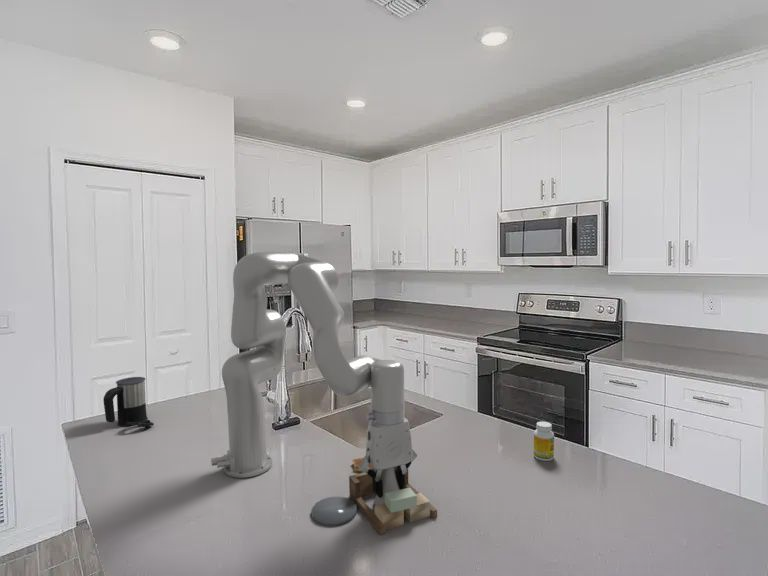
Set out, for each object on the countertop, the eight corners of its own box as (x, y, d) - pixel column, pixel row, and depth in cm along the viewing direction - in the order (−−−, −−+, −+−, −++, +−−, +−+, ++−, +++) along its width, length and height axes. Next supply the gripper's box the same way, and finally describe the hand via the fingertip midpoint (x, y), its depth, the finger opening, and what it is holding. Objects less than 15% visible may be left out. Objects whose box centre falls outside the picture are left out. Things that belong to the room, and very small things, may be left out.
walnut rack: (379, 534, 92) (379, 511, 92) (349, 496, 107) (349, 475, 107) (437, 516, 99) (437, 494, 98) (401, 482, 113) (400, 463, 113)
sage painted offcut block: (390, 512, 95) (390, 501, 94) (384, 504, 98) (384, 493, 98) (416, 506, 97) (416, 495, 96) (410, 498, 100) (409, 487, 100)
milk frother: (130, 416, 162) (128, 375, 161) (170, 417, 160) (168, 377, 159) (100, 431, 148) (97, 387, 147) (144, 433, 146) (141, 389, 145)
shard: (389, 479, 116) (389, 472, 116) (360, 485, 113) (360, 478, 113) (375, 461, 126) (375, 455, 126) (348, 466, 123) (348, 459, 123)
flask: (372, 495, 107) (371, 455, 106) (402, 493, 108) (402, 453, 107) (374, 513, 100) (373, 470, 99) (406, 511, 101) (406, 468, 100)
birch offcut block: (410, 522, 97) (410, 507, 96) (401, 513, 100) (401, 498, 100) (430, 516, 99) (430, 501, 99) (420, 507, 102) (420, 492, 102)
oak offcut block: (382, 531, 94) (382, 515, 94) (374, 521, 97) (374, 506, 97) (403, 524, 96) (403, 509, 96) (395, 515, 100) (394, 500, 99)
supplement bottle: (534, 451, 130) (535, 419, 129) (554, 454, 127) (555, 422, 127) (532, 459, 125) (532, 425, 124) (553, 463, 123) (553, 428, 122)
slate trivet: (320, 530, 94) (320, 527, 94) (306, 506, 103) (306, 503, 103) (363, 517, 98) (363, 514, 98) (346, 495, 107) (346, 492, 107)
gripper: (360, 427, 95) (361, 509, 97) (428, 414, 103) (428, 490, 104) (347, 416, 102) (348, 493, 103) (412, 404, 109) (412, 476, 111)
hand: (388, 491), depth 104 cm, fingers closed on flask, 4 cm apart
